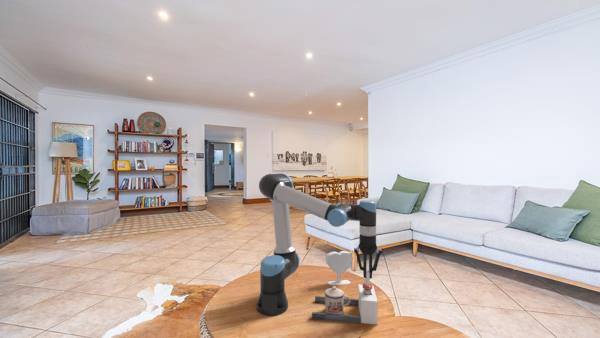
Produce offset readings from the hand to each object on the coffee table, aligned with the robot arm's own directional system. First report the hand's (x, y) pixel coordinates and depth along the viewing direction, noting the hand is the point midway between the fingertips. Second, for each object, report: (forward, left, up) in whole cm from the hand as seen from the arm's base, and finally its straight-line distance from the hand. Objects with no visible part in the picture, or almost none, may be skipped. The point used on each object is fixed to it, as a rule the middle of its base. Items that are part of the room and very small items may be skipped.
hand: (367, 285), depth 124 cm
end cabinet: (0, 0, -13) cm, 13 cm away
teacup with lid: (-14, 0, -14) cm, 20 cm away
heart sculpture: (-13, +32, -14) cm, 37 cm away
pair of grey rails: (-14, 0, -13) cm, 20 cm away
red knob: (0, 0, -7) cm, 7 cm away
